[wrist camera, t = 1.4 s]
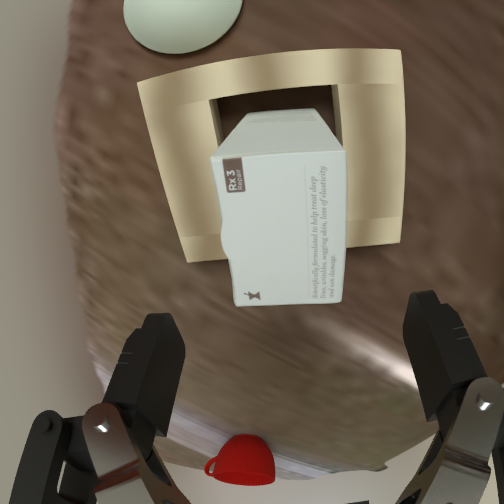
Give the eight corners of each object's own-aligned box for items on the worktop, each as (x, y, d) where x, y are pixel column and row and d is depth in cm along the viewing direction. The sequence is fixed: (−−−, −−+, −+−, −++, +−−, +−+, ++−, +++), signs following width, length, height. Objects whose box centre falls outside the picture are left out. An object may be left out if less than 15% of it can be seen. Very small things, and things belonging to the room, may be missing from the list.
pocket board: (387, 50, 20) (400, 50, 18) (390, 226, 29) (399, 242, 27) (150, 79, 23) (136, 82, 20) (194, 245, 32) (187, 262, 30)
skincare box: (318, 193, 28) (348, 310, 16) (252, 197, 29) (234, 315, 17) (314, 102, 23) (357, 151, 11) (241, 107, 24) (203, 161, 12)
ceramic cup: (192, 433, 61) (185, 472, 53) (258, 425, 56) (255, 470, 47) (224, 452, 67) (220, 486, 59) (286, 444, 62) (285, 483, 53)
